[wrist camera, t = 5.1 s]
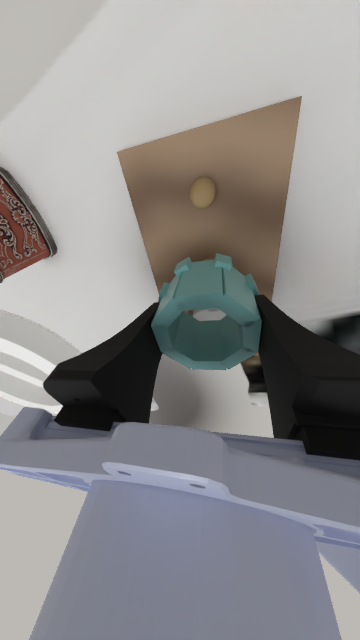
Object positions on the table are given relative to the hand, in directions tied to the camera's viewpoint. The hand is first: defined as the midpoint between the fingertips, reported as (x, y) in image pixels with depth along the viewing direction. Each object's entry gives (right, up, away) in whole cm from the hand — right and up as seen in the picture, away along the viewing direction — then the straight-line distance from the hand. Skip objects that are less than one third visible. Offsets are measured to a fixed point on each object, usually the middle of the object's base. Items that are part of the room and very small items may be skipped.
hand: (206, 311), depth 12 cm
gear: (0, +1, +1) cm, 1 cm away
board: (+2, +4, +8) cm, 9 cm away
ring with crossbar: (-32, -9, +26) cm, 43 cm away
